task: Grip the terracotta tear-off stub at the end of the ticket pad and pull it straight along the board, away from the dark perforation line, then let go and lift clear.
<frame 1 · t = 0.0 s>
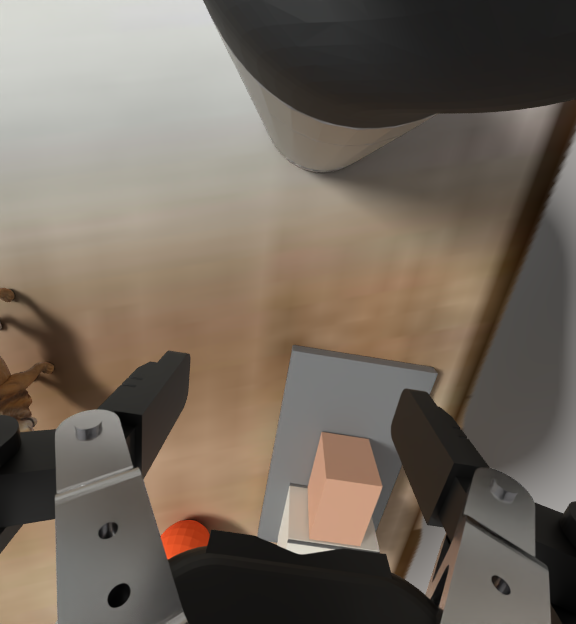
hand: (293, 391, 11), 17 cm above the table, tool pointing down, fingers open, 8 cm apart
clementine: (188, 523, 40), on the table
stub: (340, 486, 31), point 4 cm above the table, slide at 0.0 cm
lion figurine: (32, 346, 31), on the table
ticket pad: (333, 459, 35), on the table
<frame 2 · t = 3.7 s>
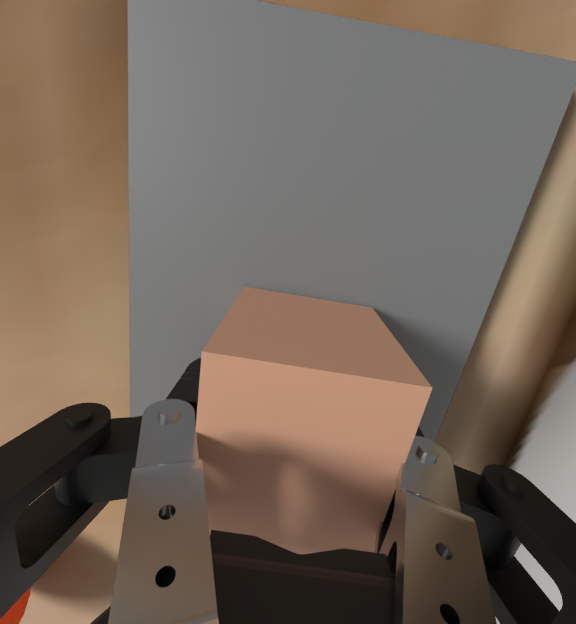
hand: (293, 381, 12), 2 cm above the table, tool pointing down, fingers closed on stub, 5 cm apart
stub: (290, 430, 10), point 4 cm above the table, slide at 0.0 cm, touching gripper
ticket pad: (289, 383, 15), on the table
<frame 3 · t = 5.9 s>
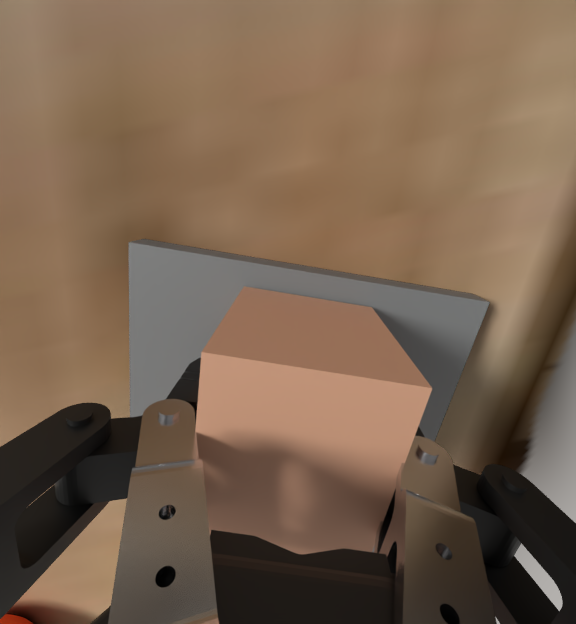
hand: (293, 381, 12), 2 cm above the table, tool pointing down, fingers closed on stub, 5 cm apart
clementine: (14, 616, 22), on the table
stub: (290, 430, 10), point 4 cm above the table, slide at 7.8 cm, touching gripper
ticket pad: (266, 502, 17), on the table
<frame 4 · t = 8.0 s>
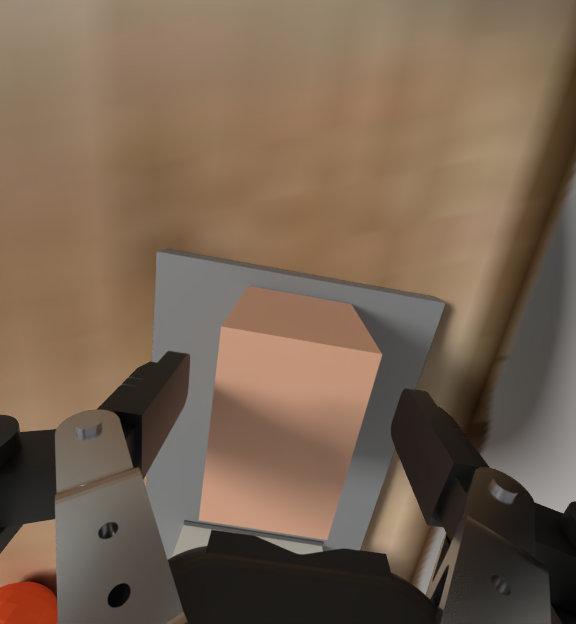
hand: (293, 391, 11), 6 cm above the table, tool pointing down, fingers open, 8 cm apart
clementine: (33, 586, 24), on the table
stub: (283, 399, 13), point 4 cm above the table, slide at 7.9 cm
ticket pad: (263, 476, 20), on the table
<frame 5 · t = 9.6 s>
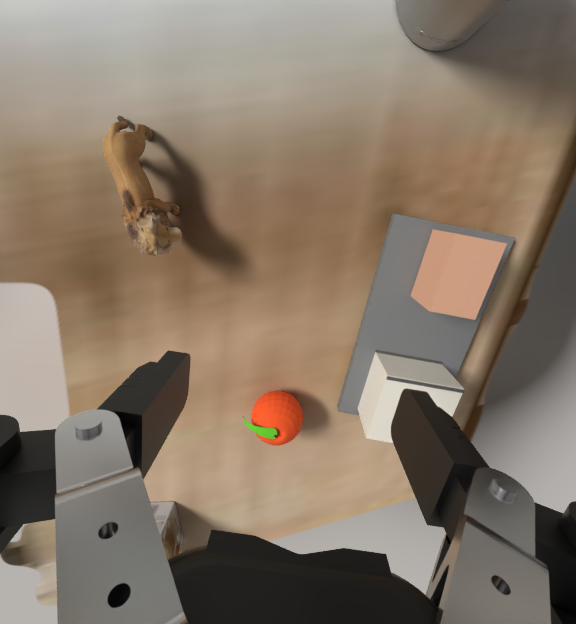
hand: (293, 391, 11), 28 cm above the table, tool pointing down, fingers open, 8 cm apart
clementine: (275, 400, 45), on the table
stub: (453, 272, 33), point 4 cm above the table, slide at 7.9 cm
lion figurine: (161, 189, 36), on the table
coffee box: (163, 519, 53), on the table
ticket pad: (413, 330, 40), on the table
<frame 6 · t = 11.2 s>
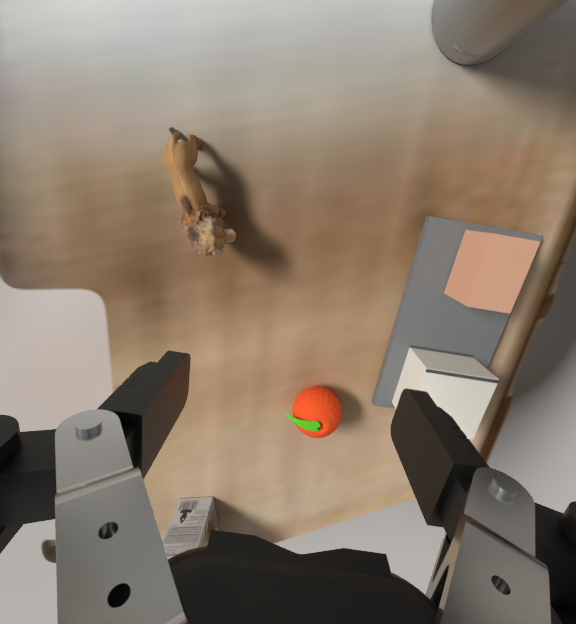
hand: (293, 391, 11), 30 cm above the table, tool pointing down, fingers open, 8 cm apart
clementine: (311, 395, 47), on the table
stub: (487, 270, 36), point 4 cm above the table, slide at 7.9 cm
lion figurine: (207, 194, 38), on the table
coffee box: (201, 514, 55), on the table
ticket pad: (445, 325, 42), on the table
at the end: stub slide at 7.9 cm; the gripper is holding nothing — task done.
